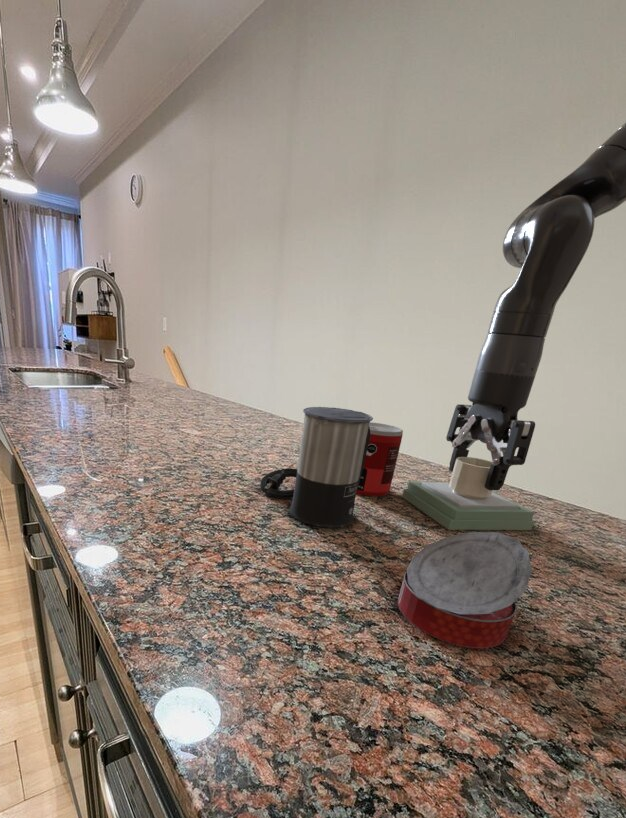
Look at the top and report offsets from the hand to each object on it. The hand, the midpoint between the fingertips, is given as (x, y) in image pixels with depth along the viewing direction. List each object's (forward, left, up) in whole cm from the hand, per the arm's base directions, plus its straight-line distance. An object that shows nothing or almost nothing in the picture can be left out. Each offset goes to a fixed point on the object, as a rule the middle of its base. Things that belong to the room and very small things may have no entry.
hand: (472, 480), depth 69 cm
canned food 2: (+20, +26, -6) cm, 33 cm away
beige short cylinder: (0, 0, -2) cm, 2 cm away
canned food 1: (+12, -10, -6) cm, 17 cm away
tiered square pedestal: (0, 0, -4) cm, 4 cm away
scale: (0, 0, -6) cm, 6 cm away
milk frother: (+26, -2, -6) cm, 27 cm away
